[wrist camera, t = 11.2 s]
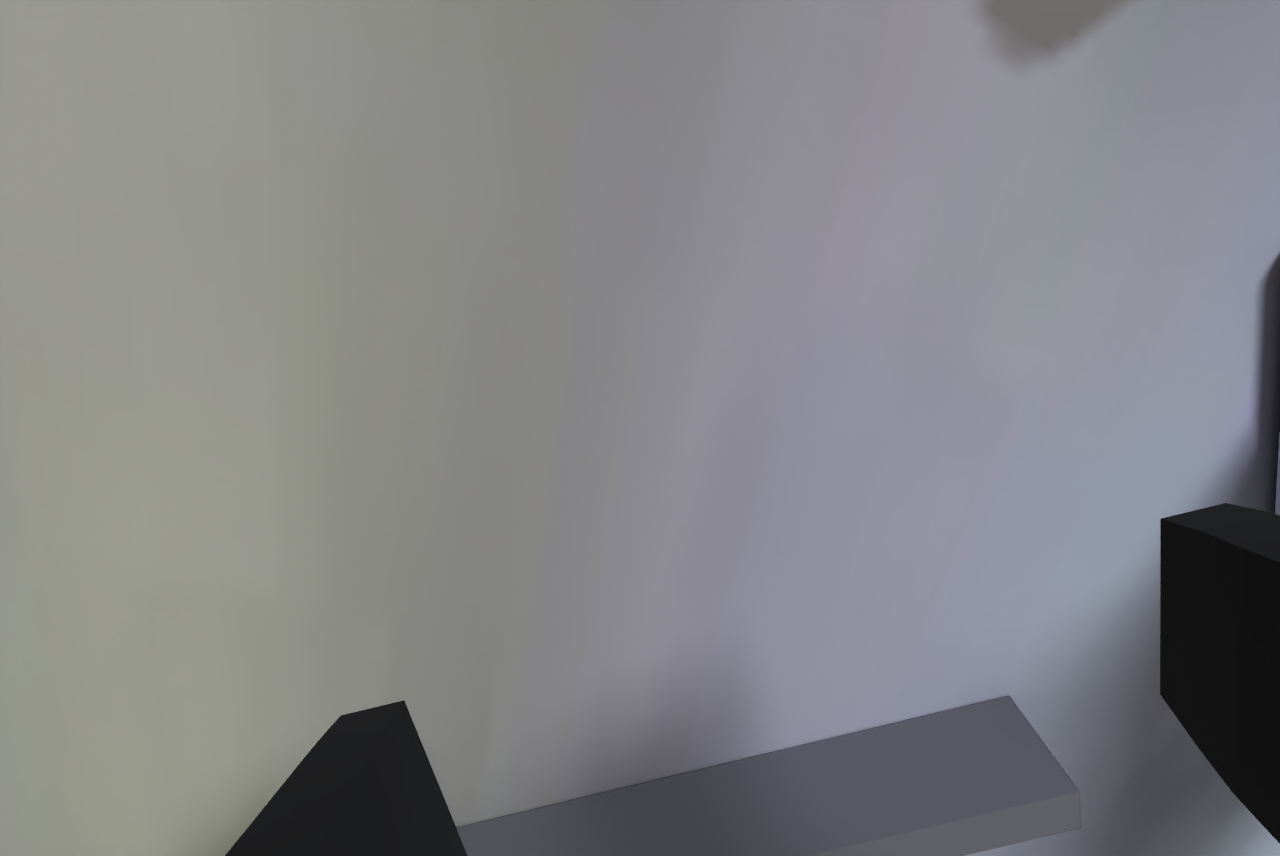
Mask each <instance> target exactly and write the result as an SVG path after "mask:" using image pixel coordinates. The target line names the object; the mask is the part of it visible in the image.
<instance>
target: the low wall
mask: <svg viewBox="0 0 1280 856" xmlns="http://www.w3.org/2000/svg"><path fill="white" fill-rule="evenodd" d="M1078 828H1081V814H1080V792H1079V790H1078V789H1077V787H1076V786H1075V785H1074V783H1073V782H1072V781H1071V779H1070V778H1069V776H1068V775H1067V774H1066V772H1065V771H1064V770H1063V768H1062V767H1061V766H1060V764H1059V763H1058V761H1057V760H1056V759H1055V757H1054V756H1053V755H1052V753H1051V752H1050V751H1049V749H1048V748H1047V746H1046V745H1045V744H1044V742H1043V741H1042V740H1041V738H1040V737H1039V735H1038V734H1037V733H1036V731H1035V730H1034V729H1033V727H1032V726H1031V725H1030V723H1029V722H1028V720H1027V719H1026V718H1025V716H1024V715H1023V714H1022V712H1021V711H1020V710H1019V708H1018V707H1017V705H1016V704H1015V703H1014V701H1013V700H1012V699H1011V697H1010V696H1006V697H1001V698H997V699H993V700H989V701H985V702H980V703H976V704H972V705H968V706H964V707H960V708H955V709H951V710H947V711H943V712H939V713H934V714H930V715H926V716H922V717H918V718H914V719H909V720H905V721H901V722H897V723H893V724H888V725H884V726H880V727H876V728H872V729H868V730H863V731H859V732H855V733H851V734H847V735H842V736H838V737H834V738H830V739H826V740H821V741H817V742H813V743H809V744H805V745H801V746H796V747H792V748H788V749H784V750H780V751H775V752H771V753H767V754H763V755H759V756H755V757H750V758H746V759H742V760H738V761H734V762H729V763H725V764H721V765H717V766H713V767H709V768H704V769H700V770H696V771H692V772H688V773H683V774H679V775H675V776H671V777H667V778H662V779H658V780H654V781H650V782H646V783H642V784H637V785H633V786H629V787H625V788H621V789H616V790H612V791H608V792H604V793H600V794H596V795H591V796H587V797H583V798H579V799H575V800H570V801H566V802H562V803H558V804H554V805H550V806H545V807H541V808H537V809H533V810H529V811H524V812H520V813H516V814H512V815H508V816H504V817H499V818H495V819H491V820H487V821H483V822H478V823H474V824H470V825H466V826H462V827H457V828H456V829H457V831H458V834H459V836H460V839H461V841H462V843H463V846H464V848H465V851H466V853H467V856H964V855H968V854H973V853H977V852H981V851H985V850H989V849H994V848H998V847H1002V846H1006V845H1010V844H1015V843H1019V842H1023V841H1027V840H1032V839H1036V838H1040V837H1044V836H1048V835H1053V834H1057V833H1061V832H1065V831H1069V830H1074V829H1078Z"/></svg>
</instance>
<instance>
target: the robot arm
mask: <svg viewBox="0 0 1280 856" xmlns="http://www.w3.org/2000/svg"><path fill="white" fill-rule="evenodd" d="M1160 695H1161V696H1162V697H1163V699H1164V700H1165V702H1166V703H1167V704H1168V706H1169V707H1170V709H1171V710H1172V711H1173V713H1174V714H1175V716H1176V717H1177V718H1178V720H1179V721H1180V723H1181V724H1182V725H1183V727H1184V728H1185V730H1186V731H1187V732H1188V734H1189V735H1190V737H1191V738H1192V739H1193V741H1194V742H1195V744H1196V745H1197V746H1198V748H1199V749H1200V750H1201V752H1202V753H1203V754H1204V756H1205V757H1206V758H1207V760H1208V761H1209V762H1210V763H1211V765H1212V766H1213V767H1214V769H1215V770H1216V771H1217V773H1218V774H1219V775H1220V777H1221V778H1222V779H1223V780H1224V782H1225V783H1226V784H1227V786H1228V787H1229V788H1230V790H1231V791H1232V792H1233V793H1234V794H1235V795H1236V797H1237V798H1238V799H1239V800H1240V801H1241V802H1242V803H1243V804H1244V805H1245V806H1246V808H1247V809H1248V810H1249V811H1250V812H1251V813H1252V814H1253V815H1254V816H1255V817H1256V818H1257V820H1258V821H1259V822H1260V823H1261V824H1262V825H1263V826H1264V827H1265V828H1266V829H1267V830H1268V831H1269V832H1270V834H1271V835H1272V836H1273V837H1274V838H1275V839H1276V840H1277V841H1278V842H1279V843H1280V434H1279V452H1278V469H1277V486H1276V504H1275V514H1272V513H1268V512H1264V511H1259V510H1255V509H1251V508H1246V507H1241V506H1236V505H1231V504H1226V503H1225V504H1220V505H1216V506H1212V507H1208V508H1204V509H1200V510H1195V511H1191V512H1187V513H1183V514H1179V515H1175V516H1171V517H1166V518H1162V519H1161V634H1160ZM225 856H467V853H466V851H465V848H464V846H463V843H462V841H461V839H460V836H459V834H458V831H457V829H456V826H455V824H454V821H453V819H452V816H451V814H450V812H449V809H448V807H447V804H446V802H445V799H444V797H443V794H442V792H441V790H440V787H439V785H438V782H437V780H436V777H435V775H434V772H433V770H432V768H431V765H430V763H429V760H428V758H427V755H426V753H425V750H424V748H423V745H422V743H421V741H420V738H419V736H418V733H417V731H416V728H415V726H414V723H413V721H412V719H411V716H410V714H409V711H408V709H407V706H406V704H405V701H400V702H396V703H392V704H387V705H383V706H379V707H375V708H371V709H367V710H362V711H358V712H354V713H350V714H346V715H342V716H340V717H339V718H338V719H337V721H336V722H335V723H334V724H333V725H332V726H331V727H330V728H329V729H328V731H327V732H326V733H325V734H324V735H323V736H322V737H321V739H320V740H319V741H318V742H317V743H316V745H315V746H314V747H313V748H312V749H311V751H310V752H309V753H308V754H307V755H306V757H305V758H304V759H303V760H302V762H301V763H300V764H299V765H298V766H297V768H296V769H295V770H294V771H293V773H292V774H291V775H290V776H289V778H288V779H287V780H286V781H285V782H284V784H283V785H282V786H281V787H280V789H279V790H278V791H277V792H276V794H275V795H274V796H273V797H272V799H271V800H270V801H269V802H268V804H267V805H266V806H265V807H264V809H263V810H262V811H261V812H260V814H259V815H258V816H257V817H256V818H255V820H254V821H253V822H252V823H251V825H250V826H249V827H248V828H247V830H246V831H245V832H244V833H243V834H242V836H241V837H240V838H239V839H238V841H237V842H236V843H235V844H234V845H233V847H232V848H231V849H230V850H229V851H228V853H227V854H226V855H225Z"/></svg>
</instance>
